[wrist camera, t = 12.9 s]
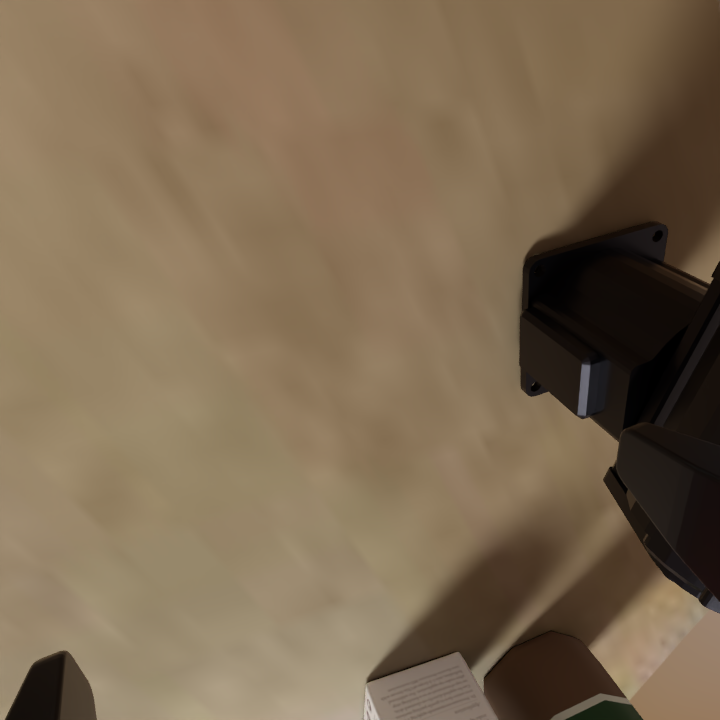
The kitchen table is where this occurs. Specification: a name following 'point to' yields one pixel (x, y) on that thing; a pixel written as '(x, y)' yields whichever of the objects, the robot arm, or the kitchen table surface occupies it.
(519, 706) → the beer bottle
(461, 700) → the skincare box
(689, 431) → the robot arm
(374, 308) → the kitchen table surface
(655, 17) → the kitchen table surface
